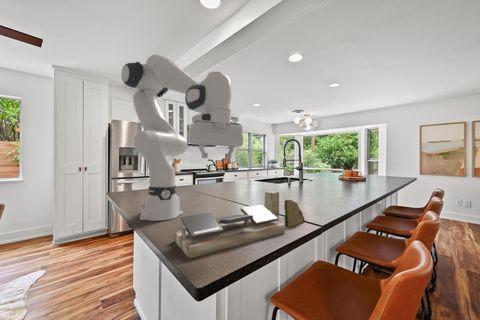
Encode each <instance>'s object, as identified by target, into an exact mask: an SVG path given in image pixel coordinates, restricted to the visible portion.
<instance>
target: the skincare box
mask: <svg viewBox="0 0 480 320" xmlns="http://www.w3.org/2000/svg"><path fill="white" fill-rule="evenodd" d="M264 207H265V208H266V209H267V210H270V211H273V215H275V216H276V217H277V218H278V219H280V191H278V190H276V191H275V190H269V191H264Z"/></svg>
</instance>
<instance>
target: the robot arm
mask: <svg viewBox="0 0 480 320" xmlns="http://www.w3.org/2000/svg"><path fill="white" fill-rule="evenodd" d="M121 68H122V69H121V80H122V81H123V84H124V85H125V86H127V87H129V88H131V89H132V88H133V89H137V90H136V92H134V93H133V95H132V99H133V106H134V109H135V112H136V115H137V117H138V121H139V123H140V125H141V126H142V129H144V130H140V131H138V132H137V133H136V134H135V136H134V137H133V147H134V149H135V151H136V152H137V153H139V154H140V155H141V156H142V158H143V159H144V160H145V162H146V165H147V167H148V175H149V176H148V177H149V186H148V189H147V190H148V191H147V194H148V196H147V198H146V199H145V201H143V202H142V203H141V208H143V209H142V210H141V211H140V215H139V220H140V221H152V222H157V221H168V220H172V219H176V218H177V217H179V216H181V215H183V214H184V211H183V210H180V209H181V207H180V196H179V195H177V194H176V193H177V185H176V169H175V167H174V166H173V165H171V164H170V163H169V162H168V158H167V157H169V156H170V157H176V156H180V155H183V154H184V153H185V152H186V150H187V148H188V142H189V143H190V144H191V145H198V150H199V151H200V153H201V159H208V155H209V154H208V152H206V150H205V148H206V147H205V146H220V147H221V146H222V147H223V146H224V147H228V148H227V149H228V152H227V153H225V159H229V160H230V159H232V155H233V153H234V151H235V147H238V148H239V147H240V148H241V147H242V146H243V145H244V135H243V133H244V132H243V125H242V124H241V123H240V122H238V121H233V120H231V116H232V115H231V113H232V111H231V100H232V85H231V84H232V83H231V79H230V77H229V76H228V75H227V74H224V73H223V72H219V71H210V72H208V73H207V75H206V77H205V78H204V79H203V80H202V81H200V82H199V83H198V82H197V80H196V79H193V78H192V76H190V75H189V74H188V73H186V72H185V71H184V70H183V69H182V68H181V67H180V66H179V65H177V64H176V63H175V62H174V61H172V60H171V59H169V58H168V57H165V56H163V55H159V54H152V55H150V56H148V58H147V60H146V63H144V64H142V63H140V61H136V62H127V63H126V64H124V65H123V66H122V67H121ZM169 90H170V91H174V92H178V93H181V94H185V96H184V98H185V105H186V107H187V108H188V109H189V110H191V111H193V112H196V113H198V114H196V115H193V116H192V117H191V122H192V123H191V124H190V126H189V130H188V141H187V139H186V137H185V136H183V135H182V134H180V133H178V131H176V129H174V127H173V126H172V125H171V124H170V122H168V120H167V119H166V117H165V115H164V113H163V110H162V109H161V107H160V105H159V102H158V99H157V98H161V97H163V95H164V94H166V93H167V92H168V91H169Z"/></svg>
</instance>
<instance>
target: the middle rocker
mask: <svg viewBox="0 0 480 320" xmlns="http://www.w3.org/2000/svg"><path fill="white" fill-rule="evenodd" d="M217 219H218V220H220V223H222V224H231V223H236V222H241V221H246V220H251V219H253V215H245V214H234V215H230V216H223V217H218V218H215V220H217Z"/></svg>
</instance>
